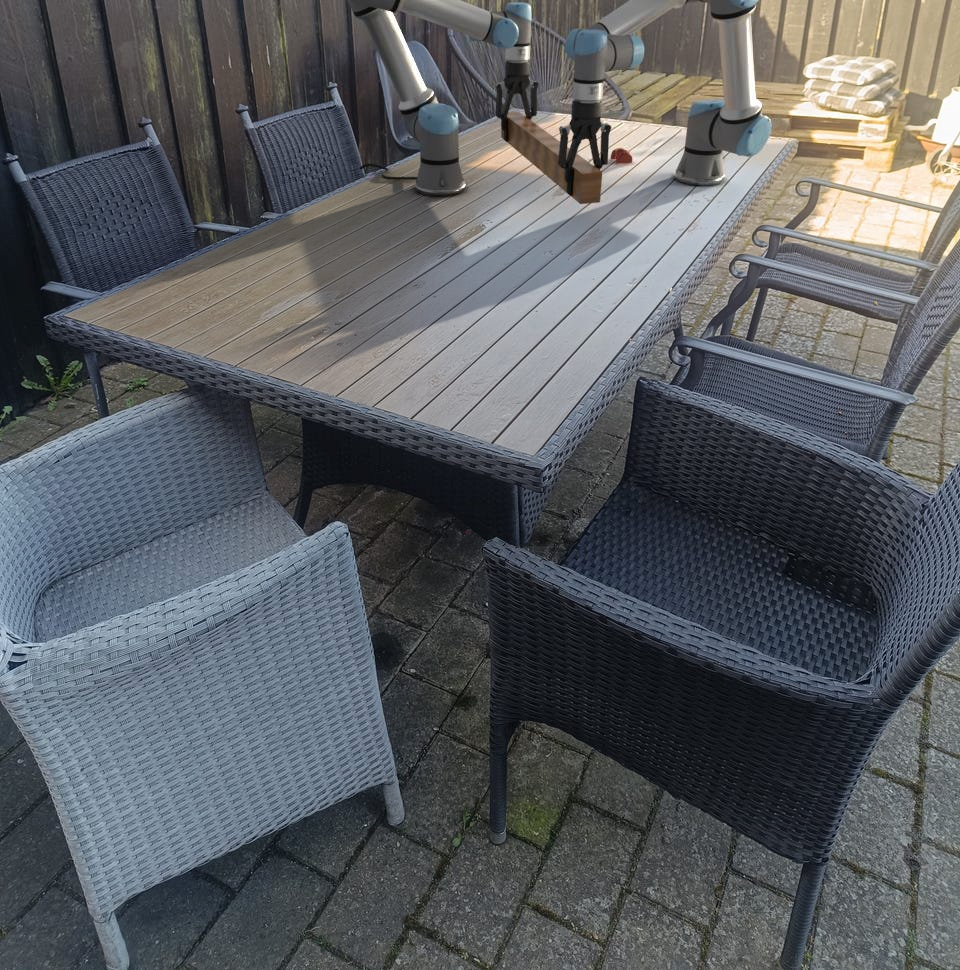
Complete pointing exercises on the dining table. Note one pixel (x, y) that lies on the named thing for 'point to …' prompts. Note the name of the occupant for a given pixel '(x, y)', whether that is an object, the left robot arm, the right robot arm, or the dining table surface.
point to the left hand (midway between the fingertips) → (515, 140)
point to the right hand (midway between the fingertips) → (580, 193)
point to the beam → (552, 158)
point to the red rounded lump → (621, 156)
